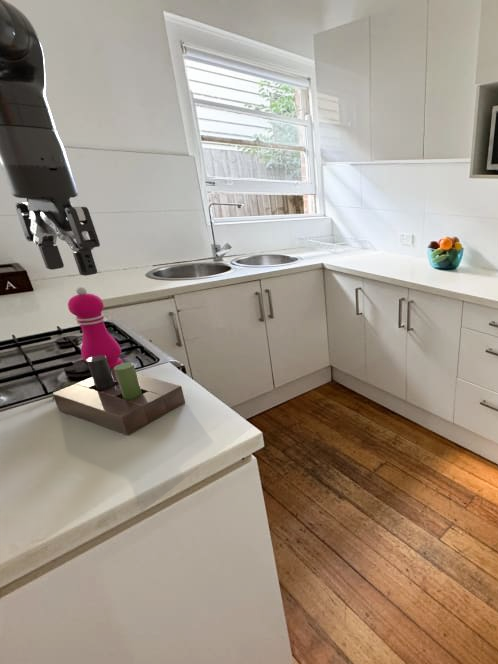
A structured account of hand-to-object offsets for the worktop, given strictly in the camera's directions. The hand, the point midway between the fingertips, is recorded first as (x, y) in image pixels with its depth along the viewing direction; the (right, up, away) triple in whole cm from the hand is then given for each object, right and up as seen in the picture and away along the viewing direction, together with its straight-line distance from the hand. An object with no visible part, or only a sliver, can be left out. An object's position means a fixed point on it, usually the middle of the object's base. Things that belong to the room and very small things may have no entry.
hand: (72, 271), depth 63 cm
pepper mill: (-16, -18, +28) cm, 37 cm away
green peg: (+2, -25, +12) cm, 28 cm away
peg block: (-2, -25, +14) cm, 28 cm away
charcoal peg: (-6, -24, +15) cm, 29 cm away
